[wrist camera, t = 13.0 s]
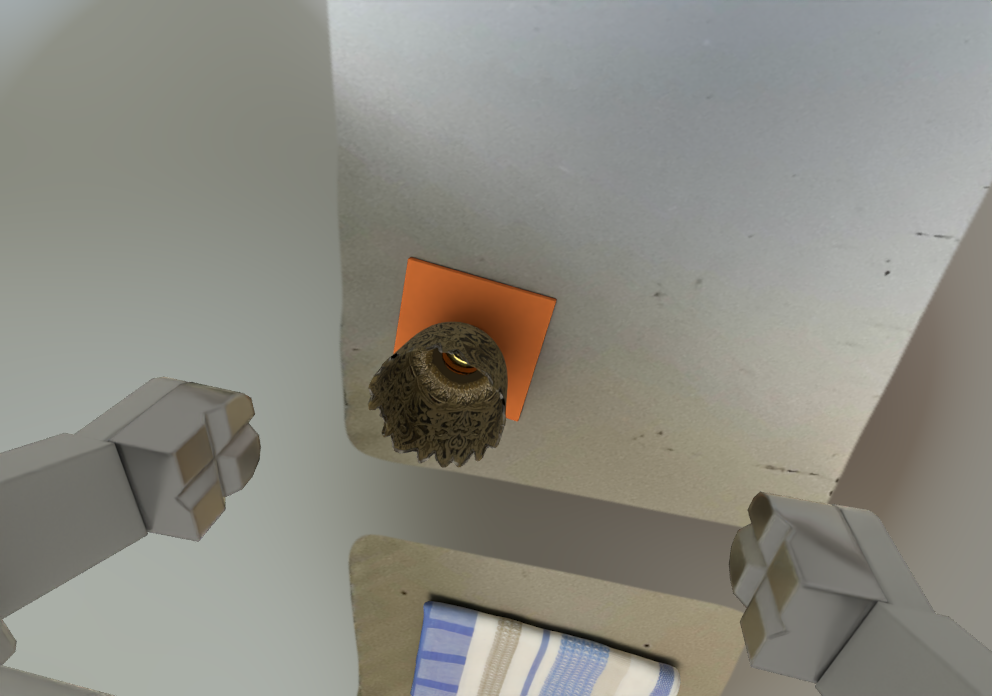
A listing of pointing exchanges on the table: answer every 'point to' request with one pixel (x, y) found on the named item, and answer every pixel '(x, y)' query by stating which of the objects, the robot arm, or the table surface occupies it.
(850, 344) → the table surface
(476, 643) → the dish towel
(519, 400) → the orange square board
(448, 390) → the brown ornate vase
